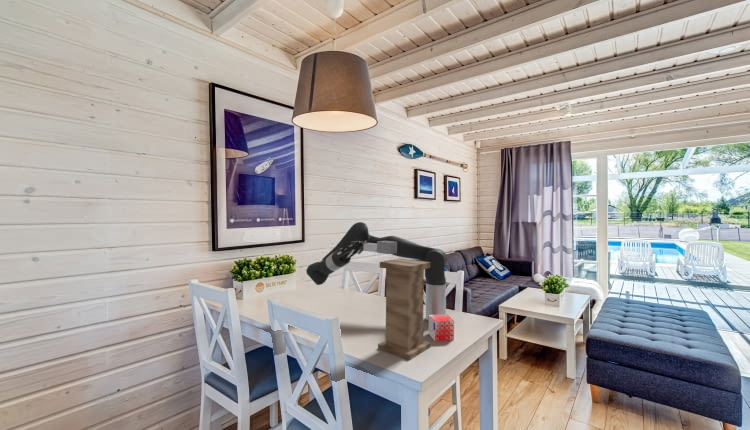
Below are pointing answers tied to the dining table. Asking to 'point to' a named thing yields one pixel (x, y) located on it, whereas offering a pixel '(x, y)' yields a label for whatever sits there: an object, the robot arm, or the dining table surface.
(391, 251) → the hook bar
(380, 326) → the dining table surface
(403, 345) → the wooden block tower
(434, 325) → the puzzle cube
